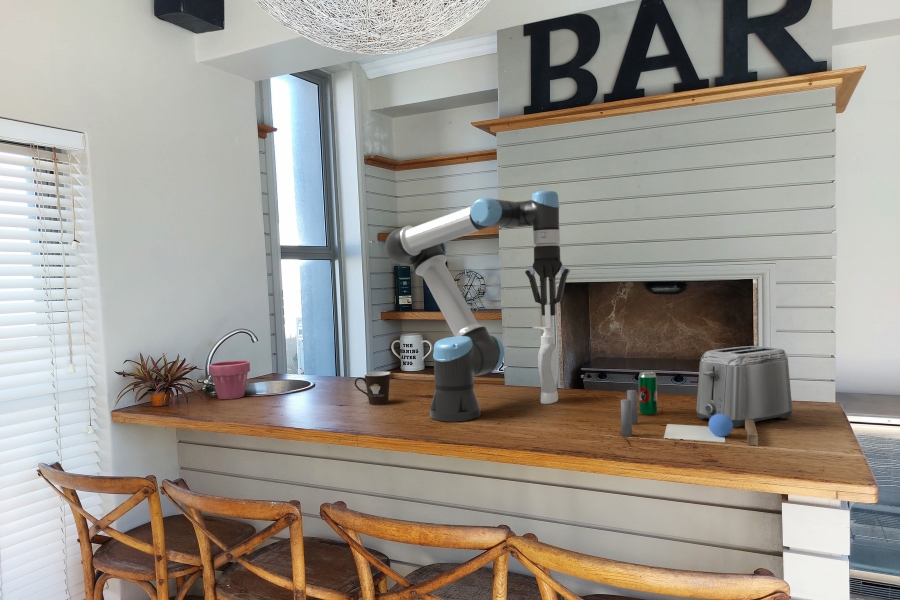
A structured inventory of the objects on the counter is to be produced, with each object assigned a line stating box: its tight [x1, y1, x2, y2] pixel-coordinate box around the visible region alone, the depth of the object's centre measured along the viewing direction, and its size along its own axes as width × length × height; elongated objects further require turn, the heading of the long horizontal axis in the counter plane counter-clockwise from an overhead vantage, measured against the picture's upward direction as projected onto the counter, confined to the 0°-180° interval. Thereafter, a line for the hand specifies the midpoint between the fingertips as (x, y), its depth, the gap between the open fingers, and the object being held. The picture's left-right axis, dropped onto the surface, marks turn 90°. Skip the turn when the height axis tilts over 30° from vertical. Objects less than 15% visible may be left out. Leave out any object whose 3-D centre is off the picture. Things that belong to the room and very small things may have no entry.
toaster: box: [696, 345, 793, 428], centre depth 170 cm, size 17×30×19 cm, turn 113°
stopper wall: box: [744, 419, 759, 447], centre depth 152 cm, size 2×16×2 cm, turn 157°
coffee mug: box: [354, 371, 391, 406], centre depth 208 cm, size 12×9×10 cm
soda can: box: [637, 371, 658, 416], centre depth 179 cm, size 5×5×12 cm
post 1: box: [620, 398, 633, 437], centre depth 157 cm, size 3×3×9 cm
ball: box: [708, 414, 734, 437], centre depth 153 cm, size 6×6×6 cm
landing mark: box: [663, 423, 726, 444], centre depth 157 cm, size 14×14×1 cm
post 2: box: [626, 389, 639, 425], centre depth 169 cm, size 3×3×9 cm
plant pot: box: [208, 360, 251, 400], centre depth 228 cm, size 14×14×13 cm
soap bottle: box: [531, 326, 559, 405], centre depth 201 cm, size 13×8×24 cm, turn 151°
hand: (549, 326), depth 178 cm, fingers closed
